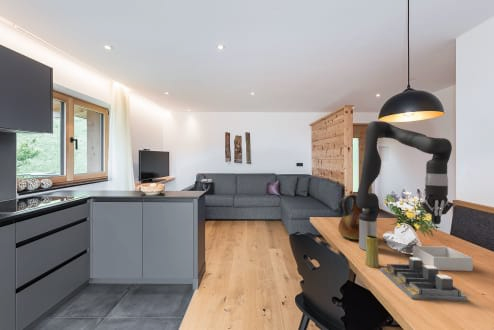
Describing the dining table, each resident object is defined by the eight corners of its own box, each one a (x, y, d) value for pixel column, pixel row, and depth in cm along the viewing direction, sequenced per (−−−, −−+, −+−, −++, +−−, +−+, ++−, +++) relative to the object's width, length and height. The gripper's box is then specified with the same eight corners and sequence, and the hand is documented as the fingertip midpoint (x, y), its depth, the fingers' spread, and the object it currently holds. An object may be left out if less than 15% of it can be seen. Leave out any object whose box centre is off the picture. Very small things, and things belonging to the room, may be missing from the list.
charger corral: (412, 256, 122) (412, 245, 122) (446, 257, 121) (447, 246, 121) (433, 269, 108) (433, 257, 108) (472, 270, 107) (472, 258, 106)
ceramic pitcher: (377, 243, 143) (377, 196, 143) (345, 242, 143) (345, 196, 143) (362, 233, 163) (362, 192, 162) (334, 233, 163) (334, 192, 163)
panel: (380, 270, 107) (380, 263, 107) (424, 272, 105) (424, 264, 105) (411, 298, 85) (411, 289, 85) (467, 300, 83) (467, 291, 83)
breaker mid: (422, 278, 96) (423, 265, 96) (432, 278, 96) (432, 265, 96) (428, 282, 93) (428, 268, 93) (438, 282, 93) (438, 268, 93)
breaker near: (435, 289, 88) (435, 274, 88) (446, 289, 88) (446, 274, 88) (441, 293, 85) (441, 278, 85) (452, 293, 85) (452, 278, 85)
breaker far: (408, 269, 104) (408, 257, 104) (417, 269, 104) (417, 257, 104) (413, 272, 101) (413, 259, 101) (422, 273, 101) (422, 260, 101)
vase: (366, 261, 117) (366, 234, 117) (380, 264, 113) (380, 236, 113) (363, 265, 112) (364, 237, 112) (377, 269, 108) (378, 239, 108)
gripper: (445, 183, 100) (444, 221, 100) (414, 183, 101) (414, 221, 101) (460, 185, 93) (459, 226, 93) (426, 184, 94) (426, 226, 94)
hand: (435, 223), depth 97 cm, fingers closed
